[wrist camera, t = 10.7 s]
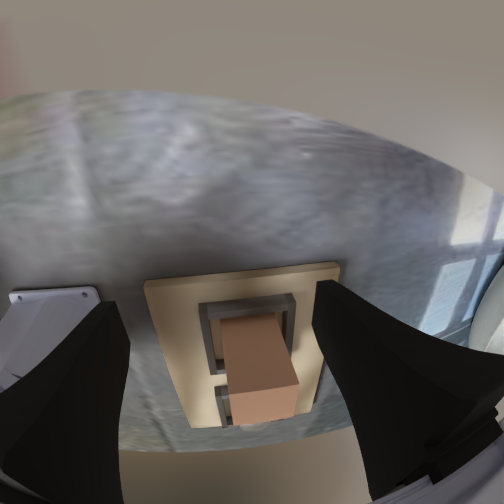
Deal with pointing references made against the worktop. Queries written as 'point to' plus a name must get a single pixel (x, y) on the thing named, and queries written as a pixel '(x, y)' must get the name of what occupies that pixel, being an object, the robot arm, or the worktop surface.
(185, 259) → the worktop surface
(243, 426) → the pin
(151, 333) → the worktop surface
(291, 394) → the tan tall block
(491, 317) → the serving bowl
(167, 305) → the board
